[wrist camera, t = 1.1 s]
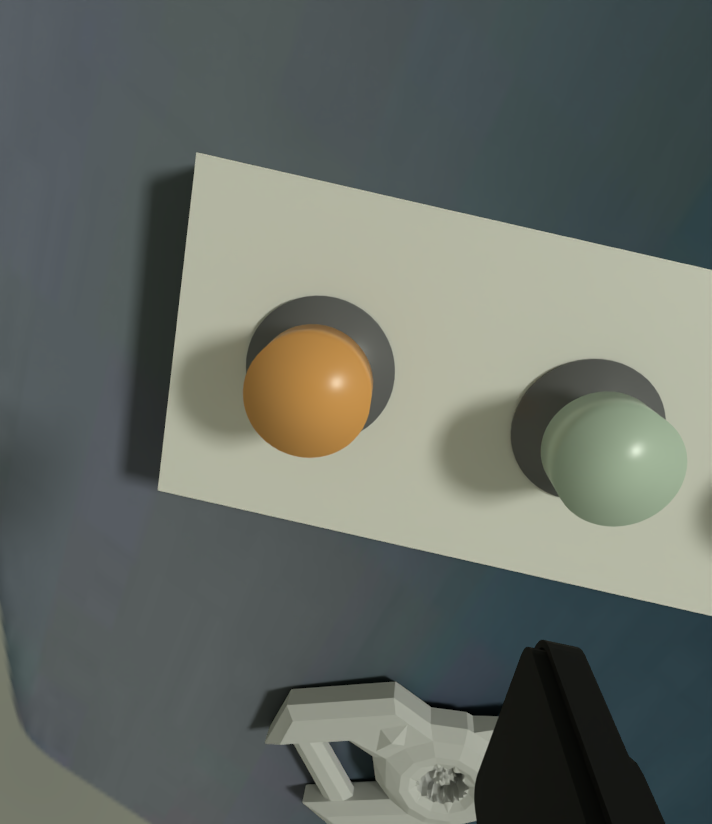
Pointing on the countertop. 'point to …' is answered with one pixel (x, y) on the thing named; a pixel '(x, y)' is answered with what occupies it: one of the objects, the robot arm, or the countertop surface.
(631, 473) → the sage button
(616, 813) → the robot arm
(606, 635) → the countertop surface
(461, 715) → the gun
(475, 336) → the button panel
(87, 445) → the countertop surface
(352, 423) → the orange button
